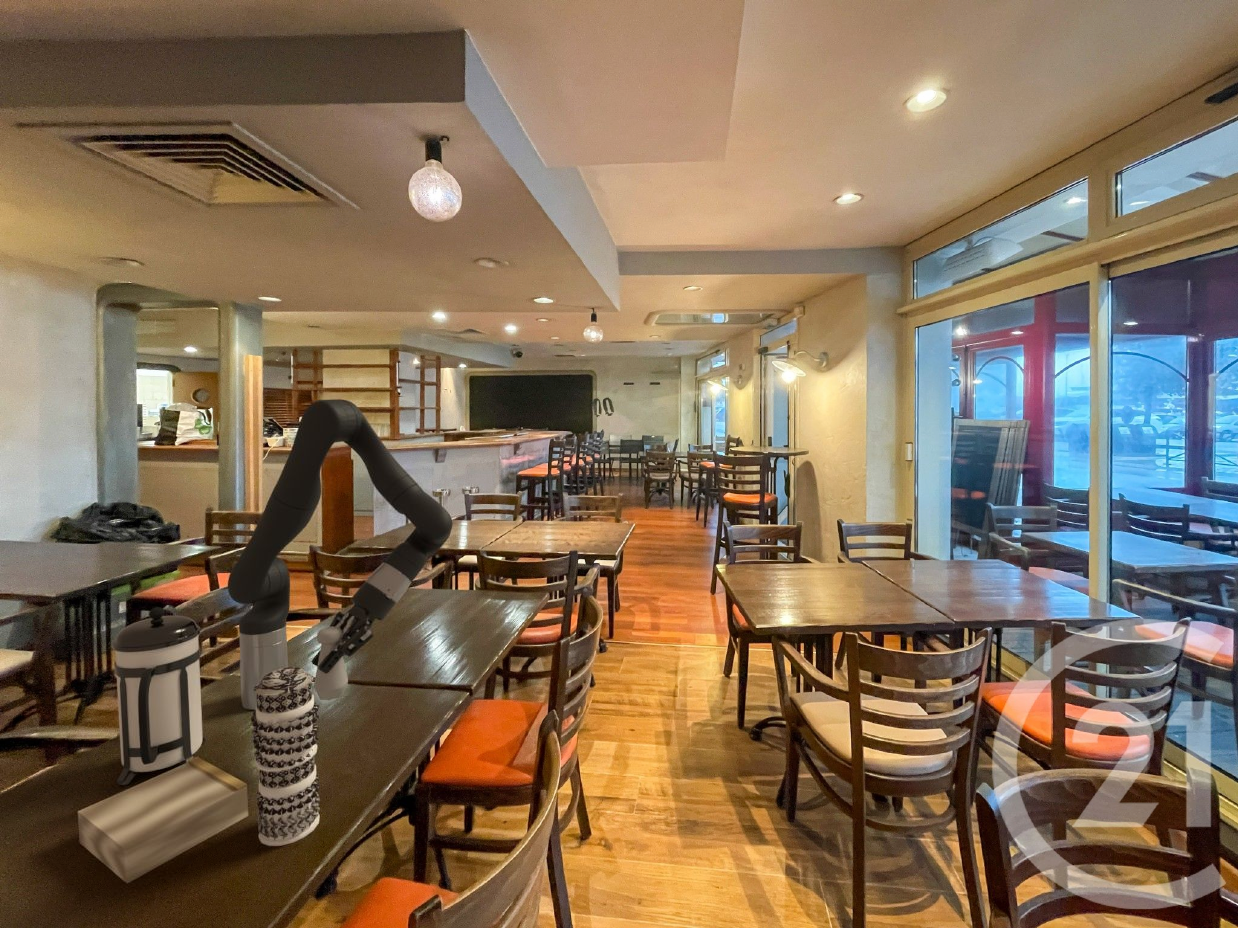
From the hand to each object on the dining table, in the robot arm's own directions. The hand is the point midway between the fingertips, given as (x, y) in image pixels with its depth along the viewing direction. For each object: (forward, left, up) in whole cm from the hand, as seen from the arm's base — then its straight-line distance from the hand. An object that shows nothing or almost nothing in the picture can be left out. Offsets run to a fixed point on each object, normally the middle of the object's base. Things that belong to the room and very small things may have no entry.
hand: (319, 667), depth 107 cm
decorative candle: (+12, -13, -19) cm, 26 cm away
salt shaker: (+1, +2, -6) cm, 6 cm away
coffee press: (-24, -15, -19) cm, 34 cm away
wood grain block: (-4, -23, -18) cm, 30 cm away
